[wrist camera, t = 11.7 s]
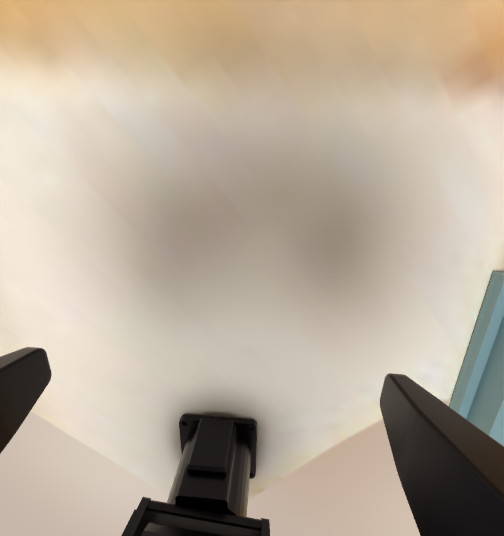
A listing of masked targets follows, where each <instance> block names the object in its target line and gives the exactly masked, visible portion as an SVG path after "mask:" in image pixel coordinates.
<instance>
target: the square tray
mask: <svg viewBox="0 0 504 536" xmlns="http://www.w3.org/2000/svg"><path fill="white" fill-rule="evenodd" d="M449 407H450V408H451V409H453V410H454V411H456V412H457V413H458V414H460V415H461V416H462V417H464V418H465V419H467V420H468V421H469V422H471V423H472V424H473V425H475V426H476V427H478V428H479V429H480V430H482V431H483V432H485V433H486V434H487V435H489V436H490V437H491V438H493V439H494V440H496V441H497V442H498V443H500V444H501V445H502V446H504V272H503V271H493V273H492V276H491V280H490V283H489V286H488V289H487V292H486V295H485V298H484V301H483V304H482V307H481V310H480V313H479V316H478V319H477V322H476V325H475V328H474V331H473V335H472V338H471V341H470V344H469V347H468V350H467V353H466V356H465V359H464V362H463V365H462V368H461V371H460V374H459V377H458V380H457V383H456V386H455V390H454V393H453V396H452V399H451V402H450V405H449Z"/></svg>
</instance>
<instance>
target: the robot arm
mask: <svg viewBox="0 0 504 536" xmlns="http://www.w3.org/2000/svg"><path fill="white" fill-rule="evenodd" d="M50 379H51V369H50V365H49V361H48V357H47V354H46V351H45V350H44V349H42V348H34V347H27V348H23V349H20V350H18V351H15V352H12V353H9V354H7V355H4V356H1V357H0V453H1V452H2V451H3V449H4V448H5V447H6V445H7V444H8V443H9V441H10V440H11V439H12V437H13V436H14V434H15V433H16V431H17V430H18V429H19V427H20V426H21V424H22V423H23V421H24V420H25V418H26V417H27V415H28V414H29V412H30V411H31V409H32V408H33V406H34V404H35V403H36V401H37V400H38V398H39V397H40V395H41V394H42V392H43V391H44V389H45V388H46V386H47V385H48V383H49V381H50ZM380 408H381V412H382V416H383V420H384V424H385V427H386V431H387V435H388V439H389V442H390V446H391V450H392V454H393V457H394V461H395V465H396V468H397V472H398V475H399V478H400V481H401V484H402V487H403V489H404V492H405V495H406V497H407V500H408V503H409V506H410V508H411V511H412V514H413V516H414V519H415V521H416V524H417V527H418V529H419V532H420V535H421V536H504V446H502V445H501V444H500V443H498V442H497V441H496V440H494V439H493V438H491V437H490V436H489V435H487V434H486V433H485V432H483V431H482V430H480V429H479V428H478V427H476V426H475V425H473V424H472V423H471V422H469V421H468V420H467V419H465V418H464V417H462V416H461V415H460V414H458V413H457V412H456V411H454V410H453V409H451V408H450V407H449V406H447V405H446V404H444V403H443V402H442V401H440V400H439V399H438V398H436V397H435V396H433V395H432V394H431V393H429V392H428V391H427V390H425V389H424V388H422V387H421V386H420V385H418V384H417V383H415V382H414V381H413V380H411V379H410V378H409V377H407V376H406V375H402V374H388V375H386V377H385V380H384V384H383V389H382V393H381V397H380ZM251 426H252V427H251ZM179 428H180V438H181V449H182V457H181V460H180V463H179V466H178V470H177V473H176V476H175V479H174V482H173V485H172V488H171V492H170V495H169V498H168V501H167V503H164V502H159V501H153V500H151V498H146V497H143V498H142V500H141V502H140V504H139V506H138V508H137V510H134V512H133V514H132V516H131V518H130V520H129V522H128V524H127V526H126V528H125V530H124V532H123V534H122V536H270V528H269V519H263V518H261V520H259V519H254V518H248V517H246V515H247V502H248V489H249V479H250V478H254V477H255V473H256V442H257V423H256V422H255V421H254V420H248V419H234V418H221V417H207V416H194V415H183V416H182V417H181V418H180V421H179Z"/></svg>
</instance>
